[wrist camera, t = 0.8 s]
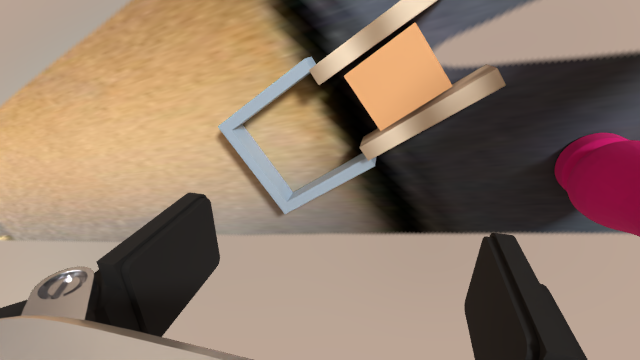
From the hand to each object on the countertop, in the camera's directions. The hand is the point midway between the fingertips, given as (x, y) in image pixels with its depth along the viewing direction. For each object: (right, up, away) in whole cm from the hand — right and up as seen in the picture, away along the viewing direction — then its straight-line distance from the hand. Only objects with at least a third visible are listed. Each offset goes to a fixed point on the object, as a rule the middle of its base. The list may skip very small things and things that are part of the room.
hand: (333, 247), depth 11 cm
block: (+7, +12, +20) cm, 24 cm away
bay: (-2, +7, +24) cm, 25 cm away
